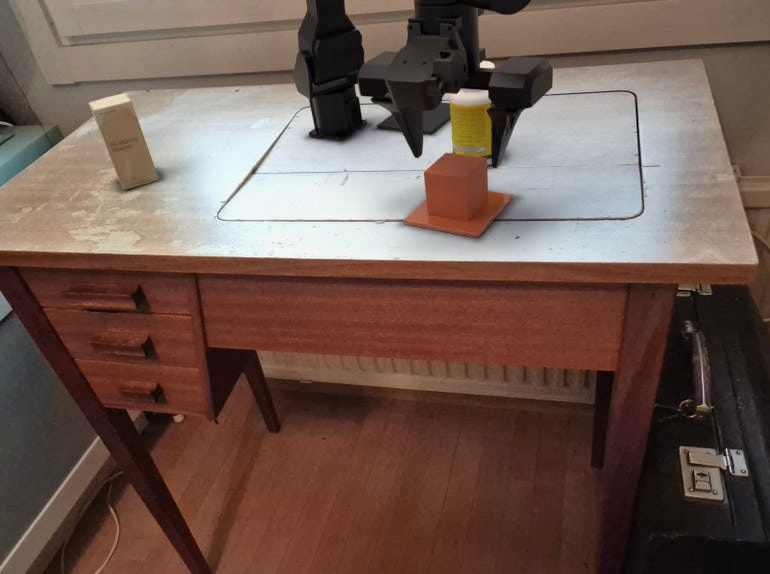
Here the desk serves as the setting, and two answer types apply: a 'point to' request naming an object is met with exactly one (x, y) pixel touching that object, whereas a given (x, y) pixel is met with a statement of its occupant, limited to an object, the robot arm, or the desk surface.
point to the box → (124, 140)
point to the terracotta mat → (459, 226)
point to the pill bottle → (471, 121)
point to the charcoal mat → (430, 120)
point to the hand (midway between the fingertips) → (456, 161)
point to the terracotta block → (456, 186)
